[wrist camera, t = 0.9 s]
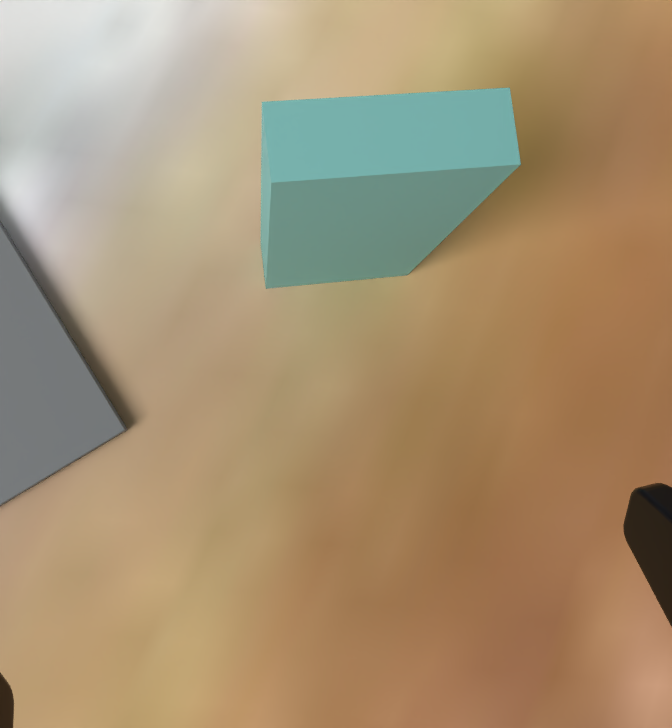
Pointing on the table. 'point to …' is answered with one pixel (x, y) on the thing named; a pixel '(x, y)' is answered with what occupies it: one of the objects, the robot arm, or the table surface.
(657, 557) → the robot arm
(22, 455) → the mat
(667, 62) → the table surface
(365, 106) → the teal domino
